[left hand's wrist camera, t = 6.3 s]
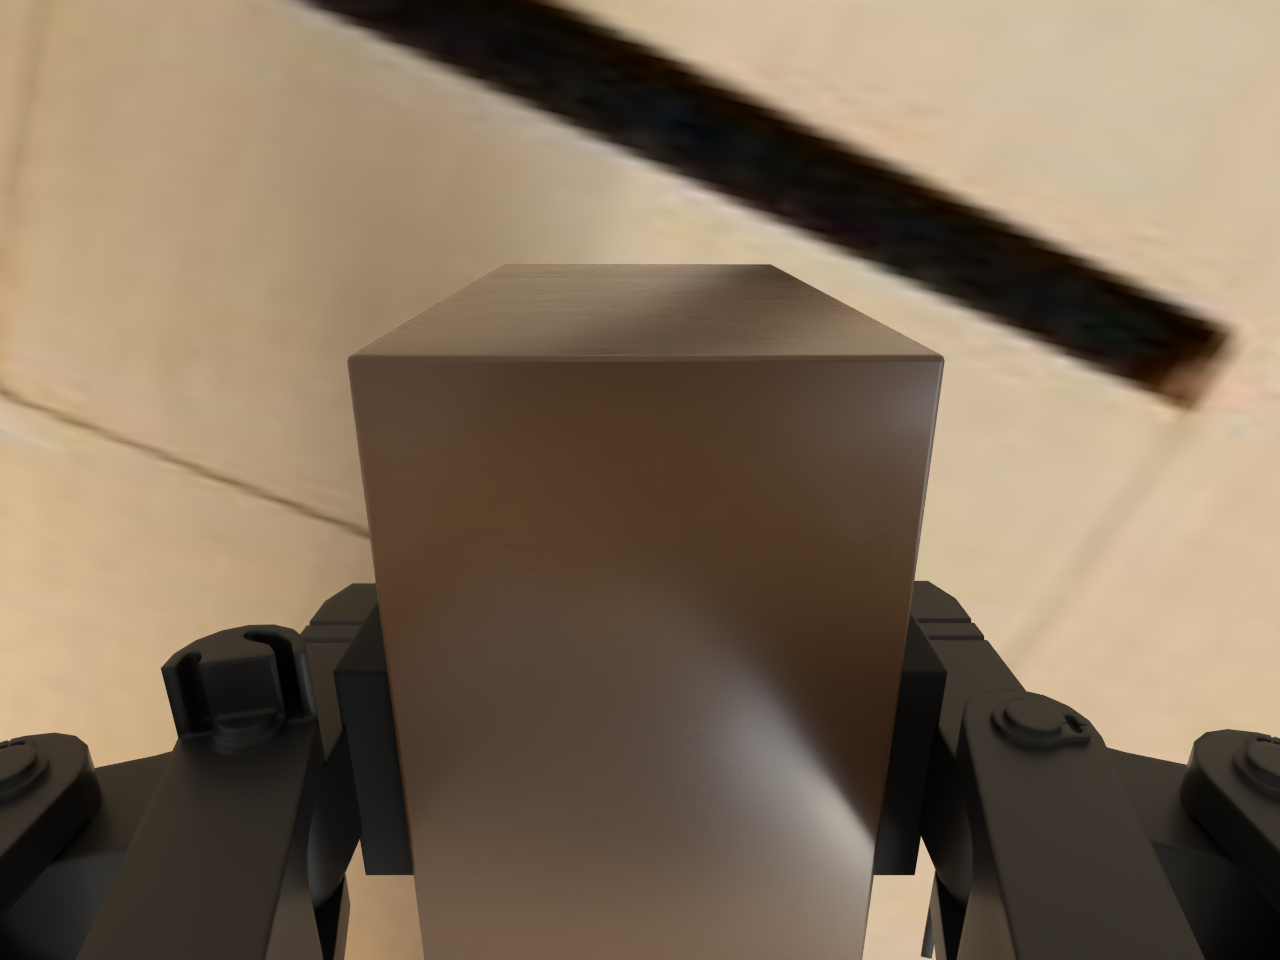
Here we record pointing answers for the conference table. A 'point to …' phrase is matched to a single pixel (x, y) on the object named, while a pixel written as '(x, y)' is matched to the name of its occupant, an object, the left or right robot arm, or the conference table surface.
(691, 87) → the conference table surface
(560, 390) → the beam
